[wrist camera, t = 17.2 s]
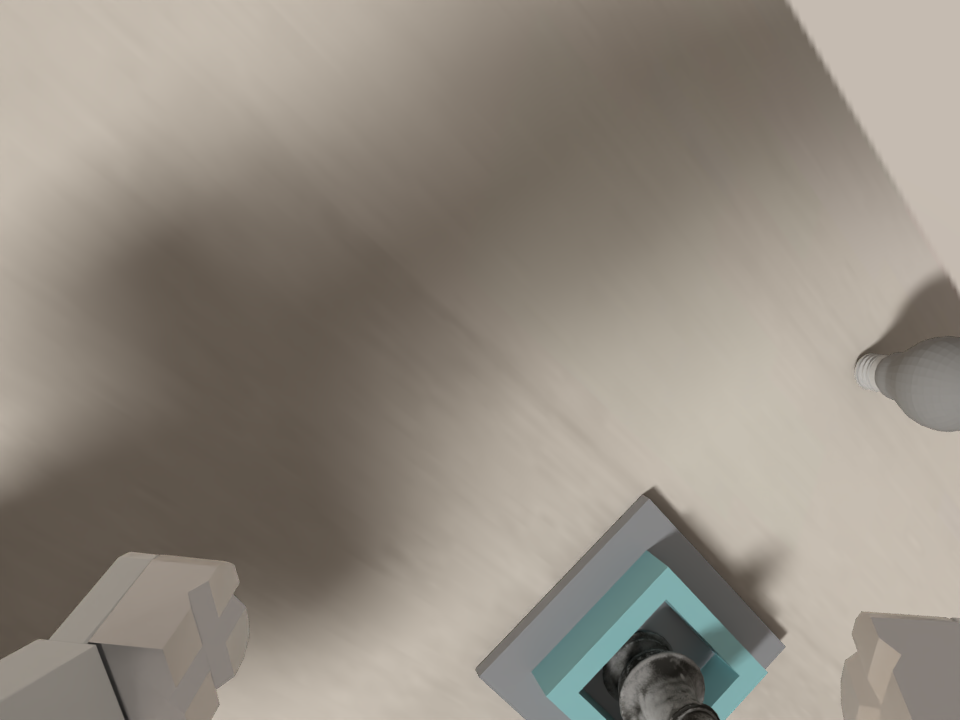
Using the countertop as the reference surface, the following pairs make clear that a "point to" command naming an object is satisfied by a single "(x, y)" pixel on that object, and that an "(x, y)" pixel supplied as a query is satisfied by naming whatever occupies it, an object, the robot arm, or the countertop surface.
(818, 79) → the countertop surface
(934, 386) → the light bulb
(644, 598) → the socket
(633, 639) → the salt shaker
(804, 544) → the countertop surface
